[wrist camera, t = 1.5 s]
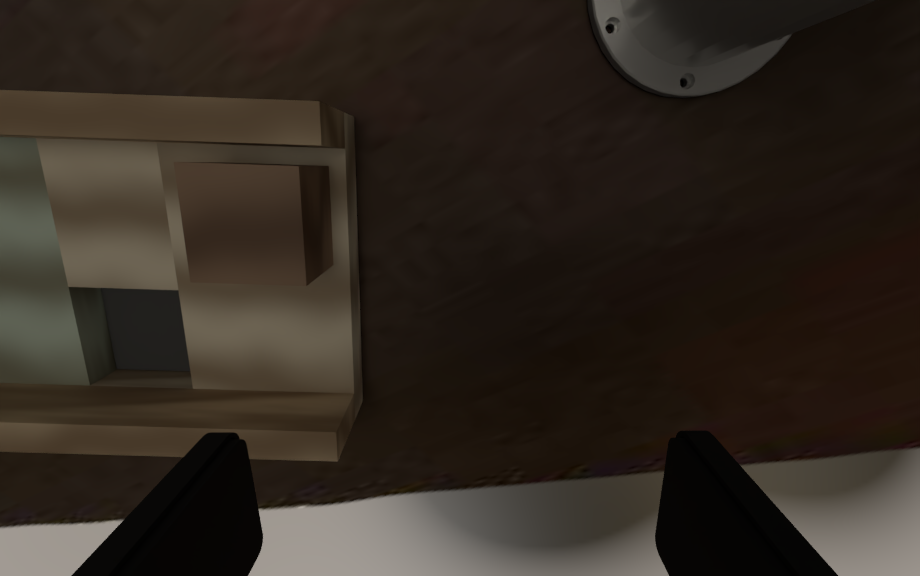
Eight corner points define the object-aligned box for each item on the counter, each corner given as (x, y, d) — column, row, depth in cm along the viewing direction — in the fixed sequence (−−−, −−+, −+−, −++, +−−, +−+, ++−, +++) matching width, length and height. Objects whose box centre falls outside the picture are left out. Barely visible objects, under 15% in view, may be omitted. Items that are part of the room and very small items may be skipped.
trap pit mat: (101, 278, 30) (98, 279, 30) (199, 281, 30) (197, 282, 30) (118, 367, 32) (116, 369, 32) (211, 370, 32) (209, 371, 32)
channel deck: (-96, 101, 27) (-279, 80, 20) (354, 116, 27) (319, 101, 21) (-12, 389, 33) (-135, 447, 26) (362, 400, 33) (337, 461, 26)
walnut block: (227, 162, 26) (173, 161, 21) (329, 165, 26) (298, 166, 21) (237, 261, 27) (190, 282, 23) (333, 264, 27) (306, 286, 23)
